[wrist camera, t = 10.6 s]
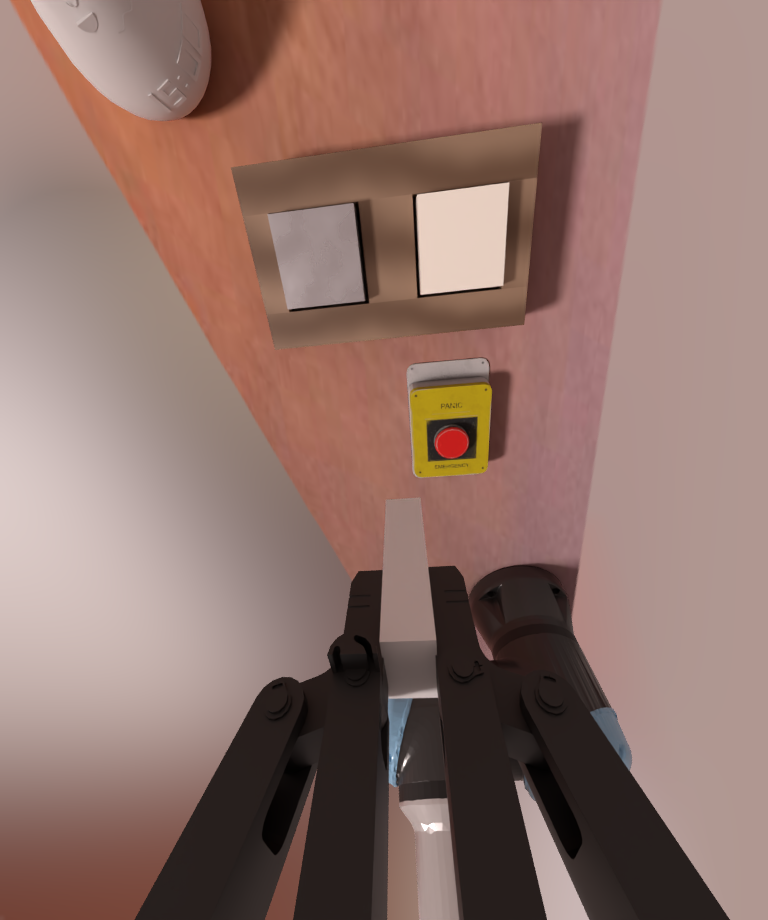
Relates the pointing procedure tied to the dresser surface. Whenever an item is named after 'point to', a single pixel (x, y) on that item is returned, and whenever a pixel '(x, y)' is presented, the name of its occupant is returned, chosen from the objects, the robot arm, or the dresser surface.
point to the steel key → (319, 255)
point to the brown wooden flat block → (394, 232)
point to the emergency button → (449, 417)
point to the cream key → (461, 238)
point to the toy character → (136, 51)
